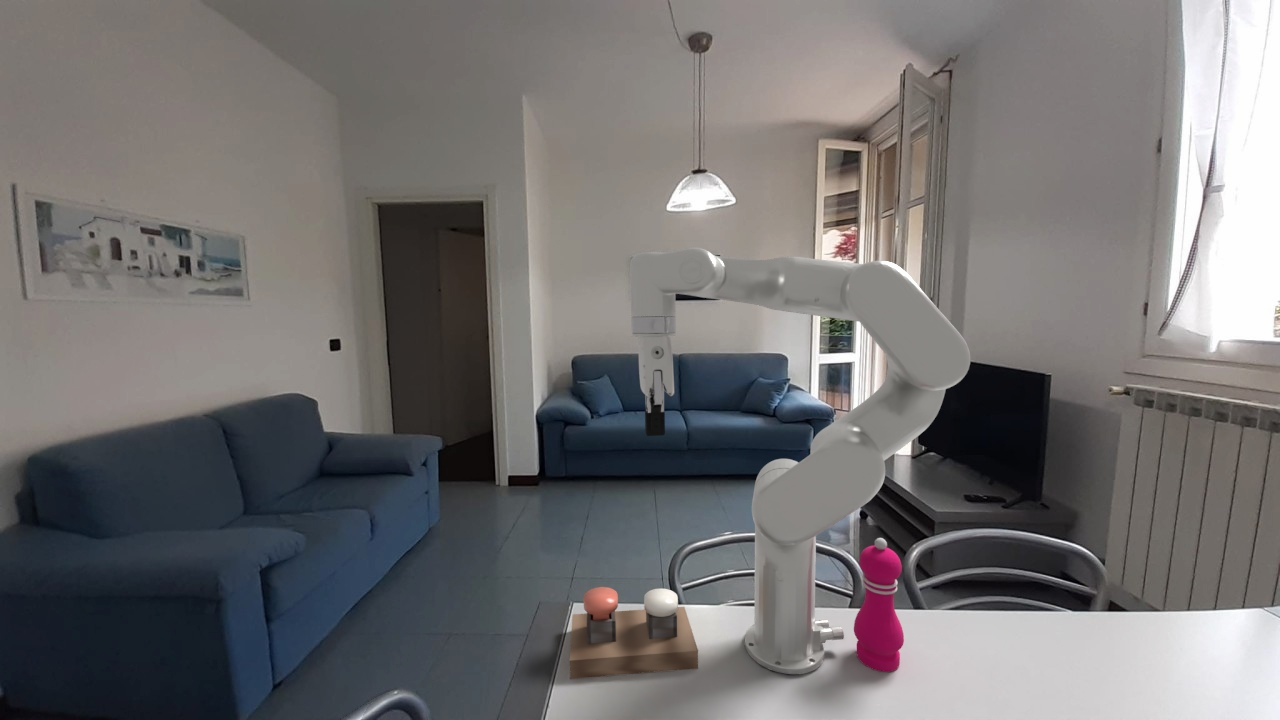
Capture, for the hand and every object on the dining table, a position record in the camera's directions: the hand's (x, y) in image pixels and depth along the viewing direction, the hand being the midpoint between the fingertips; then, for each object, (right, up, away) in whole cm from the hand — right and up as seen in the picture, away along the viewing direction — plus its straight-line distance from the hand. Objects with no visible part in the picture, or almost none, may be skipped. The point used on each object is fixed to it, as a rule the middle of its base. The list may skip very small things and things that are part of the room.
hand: (655, 434), depth 86 cm
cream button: (+1, -32, -2) cm, 32 cm away
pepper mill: (+36, -35, -6) cm, 50 cm away
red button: (-9, -31, -3) cm, 33 cm away
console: (-4, -36, -2) cm, 36 cm away
